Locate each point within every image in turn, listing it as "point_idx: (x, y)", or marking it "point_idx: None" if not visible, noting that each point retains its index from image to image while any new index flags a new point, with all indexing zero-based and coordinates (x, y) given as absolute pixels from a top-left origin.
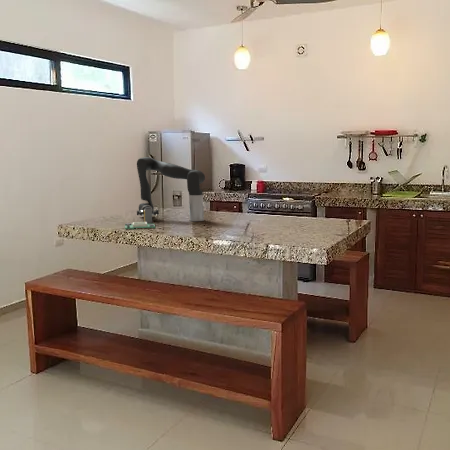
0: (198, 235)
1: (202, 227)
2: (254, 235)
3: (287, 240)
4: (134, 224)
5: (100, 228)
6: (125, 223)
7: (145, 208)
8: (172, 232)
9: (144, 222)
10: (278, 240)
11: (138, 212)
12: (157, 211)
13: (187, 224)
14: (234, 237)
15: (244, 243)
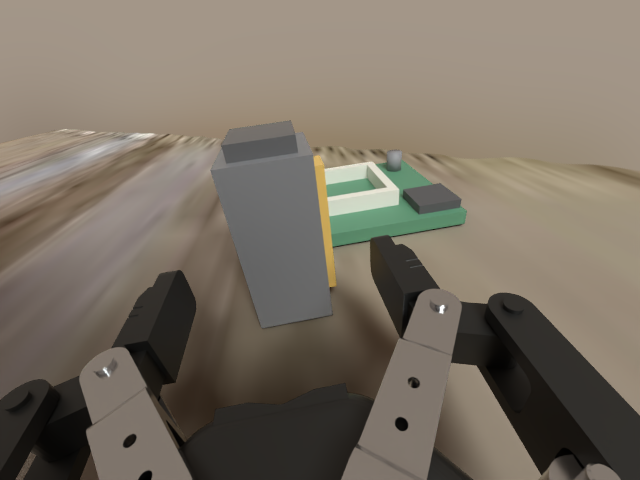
0: (155, 151)
1: (31, 221)
2: (30, 161)
3: (29, 147)
4: (363, 164)
5: (591, 185)
6: (453, 194)
7: (298, 152)
8: (208, 163)
9: None
10: (43, 145)
11: (475, 305)
12: (52, 387)
13: (3, 290)
14: (93, 149)
15: (120, 132)
